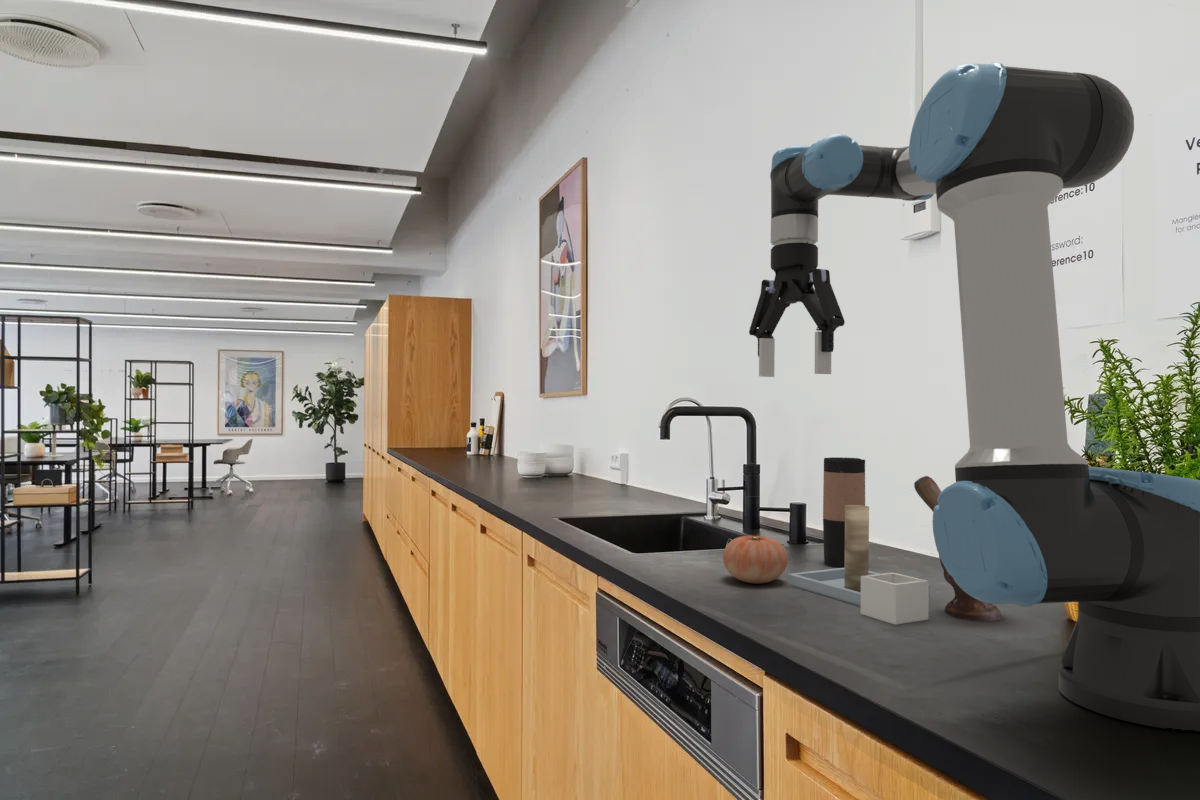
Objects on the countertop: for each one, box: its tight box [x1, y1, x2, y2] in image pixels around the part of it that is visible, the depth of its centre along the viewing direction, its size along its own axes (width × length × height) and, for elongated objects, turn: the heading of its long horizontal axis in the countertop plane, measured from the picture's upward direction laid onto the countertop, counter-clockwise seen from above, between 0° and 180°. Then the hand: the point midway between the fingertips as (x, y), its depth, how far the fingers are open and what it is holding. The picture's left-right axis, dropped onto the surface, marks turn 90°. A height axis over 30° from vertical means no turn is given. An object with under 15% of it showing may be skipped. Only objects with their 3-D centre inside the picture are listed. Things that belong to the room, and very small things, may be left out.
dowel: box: [844, 505, 870, 592], centre depth 125 cm, size 4×4×13 cm
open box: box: [860, 571, 930, 626], centre depth 110 cm, size 6×6×6 cm
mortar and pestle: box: [913, 475, 1003, 622], centre depth 111 cm, size 12×9×20 cm
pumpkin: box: [722, 533, 789, 585], centre depth 135 cm, size 11×11×8 cm
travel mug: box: [822, 456, 866, 568], centre depth 151 cm, size 8×8×20 cm
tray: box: [786, 567, 881, 608], centre depth 125 cm, size 16×14×2 cm
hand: (793, 375), depth 130 cm, fingers open, 13 cm apart
